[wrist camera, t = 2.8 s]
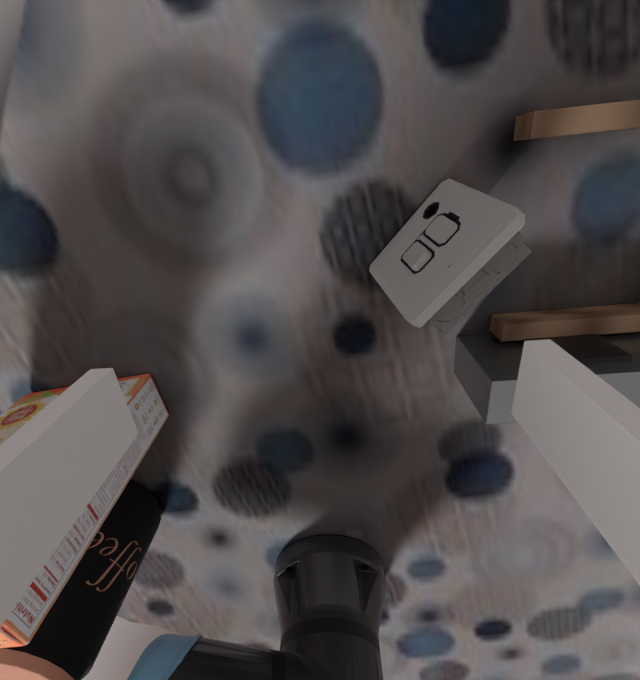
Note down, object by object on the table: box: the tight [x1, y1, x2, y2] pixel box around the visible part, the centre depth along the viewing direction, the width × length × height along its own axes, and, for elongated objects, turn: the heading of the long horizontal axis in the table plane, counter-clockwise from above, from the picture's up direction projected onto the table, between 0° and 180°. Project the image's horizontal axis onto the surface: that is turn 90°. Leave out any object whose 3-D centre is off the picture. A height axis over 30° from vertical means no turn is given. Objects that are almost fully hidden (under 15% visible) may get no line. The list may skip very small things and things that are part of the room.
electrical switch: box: [369, 178, 532, 334], centre depth 26 cm, size 9×5×9 cm, turn 142°
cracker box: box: [0, 373, 169, 648], centre depth 28 cm, size 14×6×21 cm, turn 101°
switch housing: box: [454, 332, 640, 424], centre depth 30 cm, size 16×5×8 cm, turn 95°
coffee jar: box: [0, 480, 161, 680], centre depth 36 cm, size 11×11×18 cm
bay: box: [489, 100, 640, 342], centre depth 27 cm, size 15×17×4 cm
